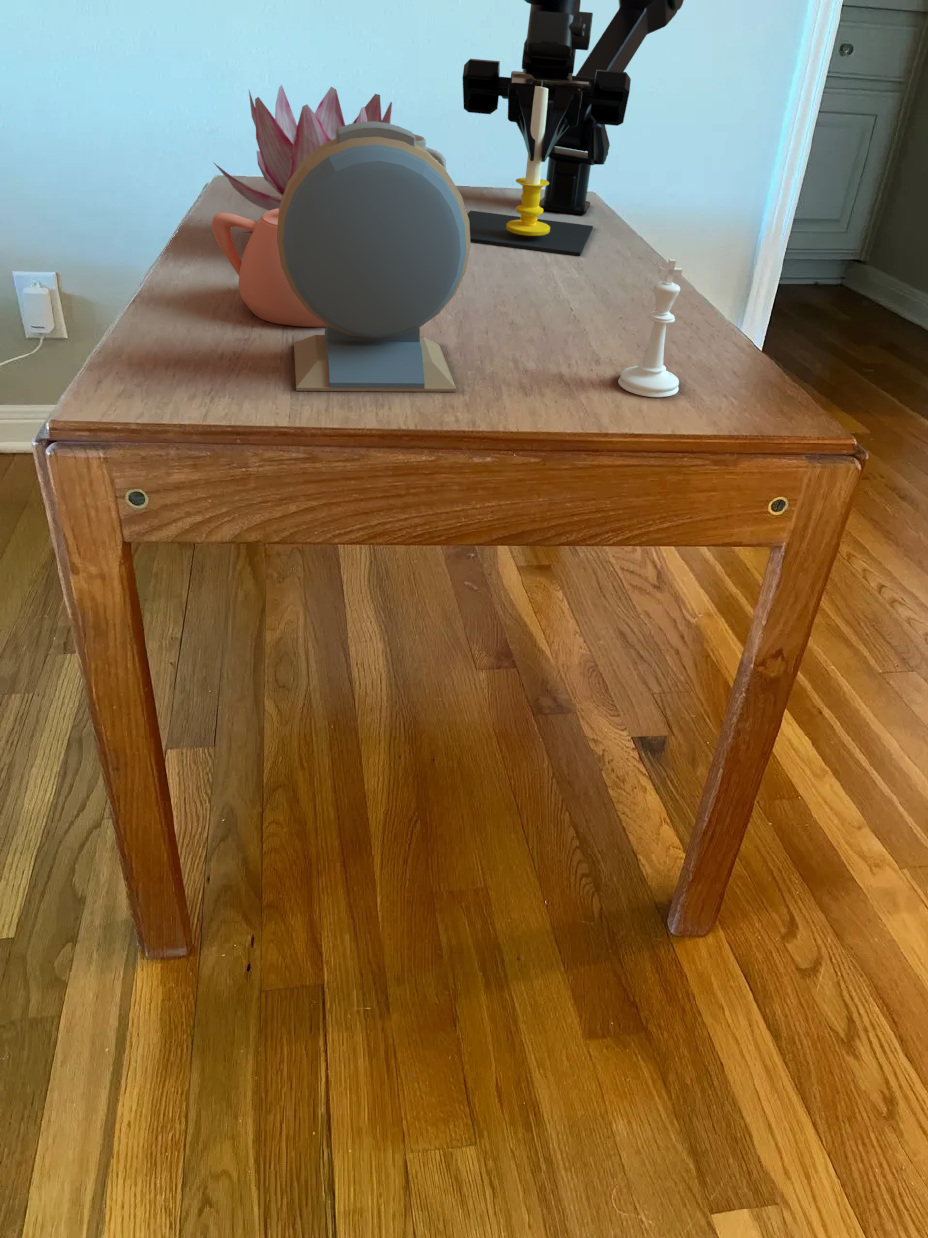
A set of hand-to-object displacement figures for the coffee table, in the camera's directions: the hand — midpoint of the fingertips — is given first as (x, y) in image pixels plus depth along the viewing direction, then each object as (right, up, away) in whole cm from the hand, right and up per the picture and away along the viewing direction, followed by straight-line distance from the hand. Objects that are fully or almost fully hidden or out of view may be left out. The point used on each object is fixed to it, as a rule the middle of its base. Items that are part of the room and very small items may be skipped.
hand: (537, 158), depth 107 cm
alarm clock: (-16, -32, -30) cm, 47 cm away
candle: (-1, -6, +6) cm, 8 cm away
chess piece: (+7, -33, -29) cm, 45 cm away
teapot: (-22, -23, -19) cm, 38 cm away
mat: (-1, -5, +9) cm, 10 cm away
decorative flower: (-24, -12, -3) cm, 27 cm away
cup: (-16, +2, +17) cm, 24 cm away
